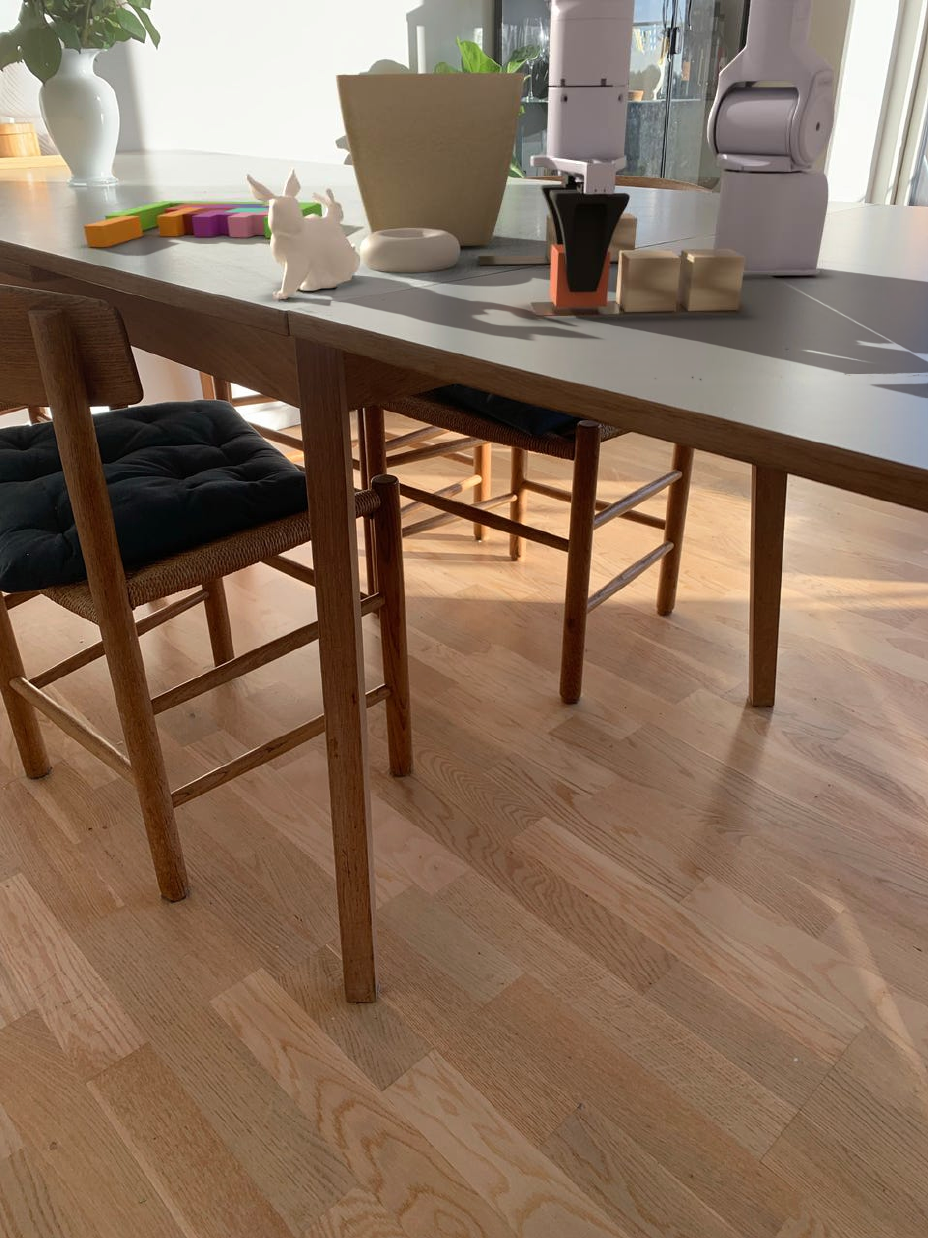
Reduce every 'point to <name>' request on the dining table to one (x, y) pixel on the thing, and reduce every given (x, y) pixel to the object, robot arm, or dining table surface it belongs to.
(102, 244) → the toy blocks
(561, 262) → the rust orange cube
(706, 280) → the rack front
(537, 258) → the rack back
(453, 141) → the flower pot
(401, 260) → the donut
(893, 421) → the dining table surface
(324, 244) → the rabbit figurine
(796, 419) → the dining table surface
